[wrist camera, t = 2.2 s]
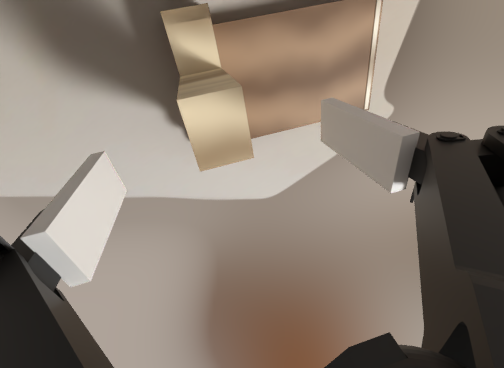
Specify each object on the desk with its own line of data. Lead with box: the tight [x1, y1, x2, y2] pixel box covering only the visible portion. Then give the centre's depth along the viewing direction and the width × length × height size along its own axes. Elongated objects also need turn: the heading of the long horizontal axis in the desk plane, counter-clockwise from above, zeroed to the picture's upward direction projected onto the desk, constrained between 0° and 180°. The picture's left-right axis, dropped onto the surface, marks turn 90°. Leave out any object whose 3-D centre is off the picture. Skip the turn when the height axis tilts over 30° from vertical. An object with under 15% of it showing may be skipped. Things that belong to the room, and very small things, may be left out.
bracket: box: [160, 3, 254, 171], centre depth 20 cm, size 12×4×13 cm, turn 9°
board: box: [212, 0, 383, 139], centre depth 27 cm, size 12×22×2 cm, turn 99°
